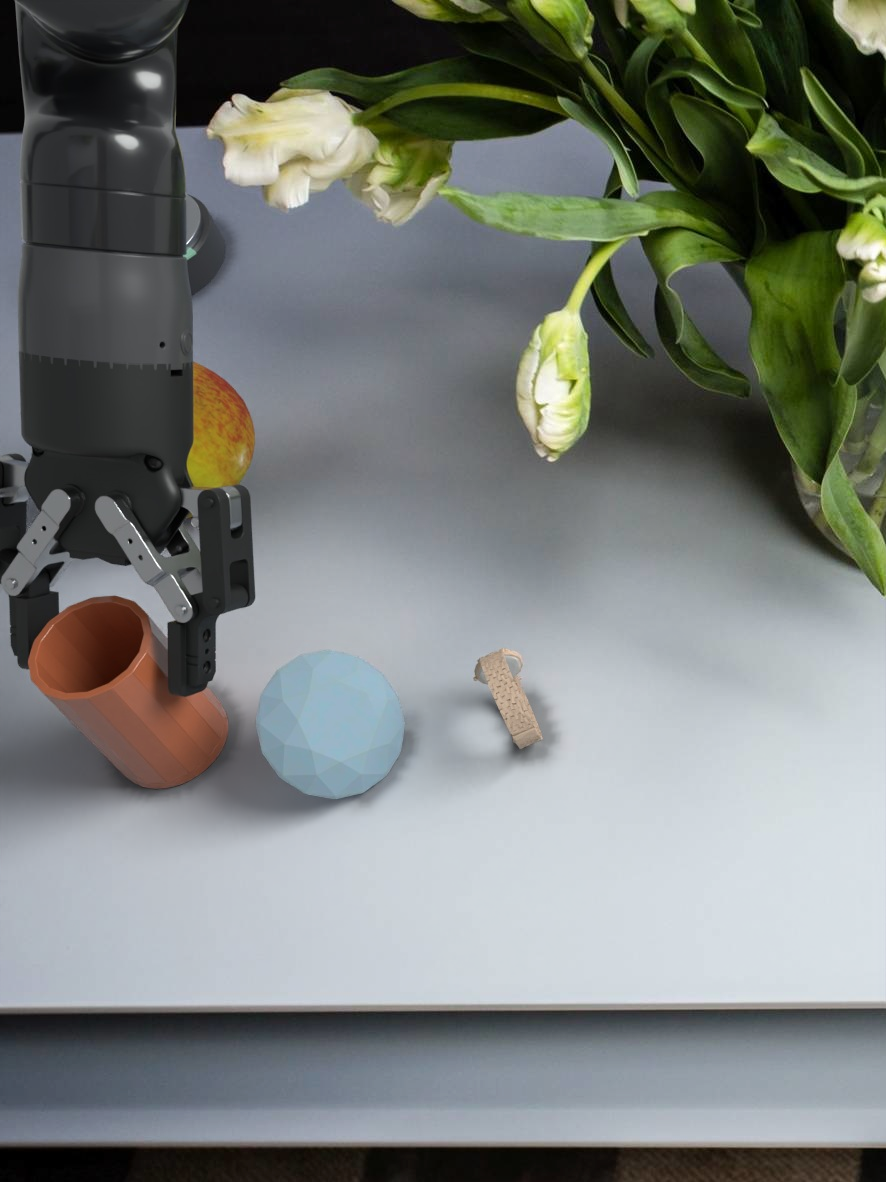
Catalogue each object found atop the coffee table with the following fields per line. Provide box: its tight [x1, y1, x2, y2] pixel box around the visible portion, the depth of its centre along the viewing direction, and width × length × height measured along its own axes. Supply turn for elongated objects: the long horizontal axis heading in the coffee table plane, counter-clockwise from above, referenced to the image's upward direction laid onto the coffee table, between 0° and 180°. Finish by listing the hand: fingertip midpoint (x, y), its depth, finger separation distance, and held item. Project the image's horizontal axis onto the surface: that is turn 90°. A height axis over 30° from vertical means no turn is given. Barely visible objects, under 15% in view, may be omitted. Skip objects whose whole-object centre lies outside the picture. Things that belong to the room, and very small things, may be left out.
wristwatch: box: [472, 647, 544, 750], centre depth 82 cm, size 3×5×5 cm, turn 24°
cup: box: [28, 595, 229, 790], centre depth 83 cm, size 6×6×9 cm
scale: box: [183, 193, 227, 297], centre depth 105 cm, size 8×8×3 cm
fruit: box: [185, 361, 256, 520], centre depth 93 cm, size 10×9×8 cm
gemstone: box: [255, 649, 406, 800], centre depth 84 cm, size 8×8×5 cm
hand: (113, 679), depth 81 cm, fingers open, 8 cm apart
